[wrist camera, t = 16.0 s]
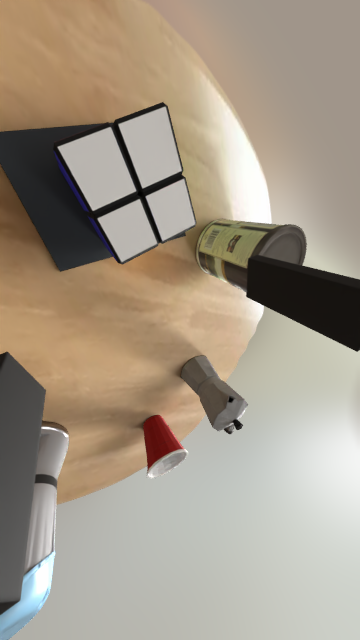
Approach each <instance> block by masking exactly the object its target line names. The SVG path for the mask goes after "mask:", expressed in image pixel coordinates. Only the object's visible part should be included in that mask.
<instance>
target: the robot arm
mask: <svg viewBox="0 0 360 640" xmlns="http://www.w3.org/2000/svg"><path fill="white" fill-rule="evenodd" d="M246 297H248V298H250V299H252V300H254V301H256V302H258V303H260V304H262V305H264V306H266V307H268V308H270V309H272V310H274V311H276V312H278V313H280V314H282V315H284V316H286V317H288V318H290V319H292V320H294V321H296V322H298V323H300V324H302V325H304V326H306V327H308V328H310V329H312V330H314V331H316V332H319V333H320V334H323V335H324V336H326V337H329V338H331V339H333V340H335V341H337V342H339V343H341V344H343V345H345V346H347V347H349V348H351V349H353V350H355V351H359V350H360V280H359V279H355V278H351V277H347V276H343V275H339V274H335V273H330V272H326V271H322V270H318V269H314V268H310V267H305V266H302V265H298V264H294V263H289V262H285V261H281V260H277V259H273V258H269V257H265V256H261V255H255V256H252V257H250V258H248V270H247V294H246ZM45 392H46V390H45V389H44V388H43V387H42V386H41V385H40V384H39V383H38V382H37V381H36V380H35V379H34V378H33V377H32V376H31V375H30V374H29V373H28V372H27V371H26V370H25V369H24V368H23V367H22V366H21V365H20V364H19V363H18V362H17V361H16V360H15V359H14V358H13V357H12V356H11V355H10V354H9V353H8V352H5V353H3V354H0V640H9V639H10V638H11V637H12V636H13V635H14V634H16V633H17V632H18V631H19V630H20V629H21V628H23V627H24V626H25V625H26V624H27V623H28V622H29V621H30V620H31V619H32V618H33V617H34V616H35V615H36V614H37V612H38V611H39V610H40V609H41V607H42V606H43V604H44V603H45V601H46V599H47V597H48V594H49V592H50V588H51V581H52V572H53V563H54V557H55V551H54V546H55V520H56V498H57V479H58V476H59V473H60V470H61V467H62V464H63V461H64V458H65V455H66V453H67V450H68V446H69V433H68V431H67V429H66V428H64V427H63V426H61V425H59V424H57V423H53V422H46V421H42V417H43V409H44V401H45Z"/></svg>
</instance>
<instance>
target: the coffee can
mask: <svg viewBox="0 0 360 640" xmlns="http://www.w3.org/2000/svg"><path fill="white" fill-rule="evenodd" d="M306 245H307V243H306V237H305V234H304V232H303V230H302V229H301V228H300V227H298V226H296V225H276V224H265V223H254V222H243V221H233V220H226V219H218V220H215V221H213V222H211V223H210V224H209V225H208V226H207V227H206V228H205V229H204V230H203V232H202V233H201V235H200V237H199V240H198V243H197V248H196V257H197V262H198V264H199V266H200V268H201V269H202V270H203V271H204V272H206V273H208V274H210V275H212V276H215V277H217V278H219V279H221V280H223V281H225V282H227V283H229V284H231V285H233V286H235V287H237V288H239V289H241V290H243V291H245V292H247V270H248V258H250V257H252V256H255V255H261V256H265V257H269V258H273V259H277V260H281V261H285V262H289V263H294V264H298V265H302V264H303V262H304V258H305V254H306Z"/></svg>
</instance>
